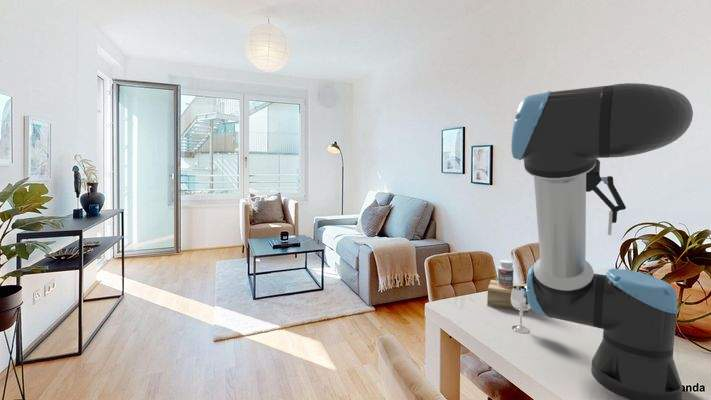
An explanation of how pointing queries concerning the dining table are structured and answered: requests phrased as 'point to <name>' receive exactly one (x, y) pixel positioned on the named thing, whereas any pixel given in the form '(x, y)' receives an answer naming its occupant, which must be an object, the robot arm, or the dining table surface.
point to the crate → (500, 300)
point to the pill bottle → (505, 274)
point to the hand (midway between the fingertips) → (580, 232)
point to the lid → (495, 287)
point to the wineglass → (520, 305)
